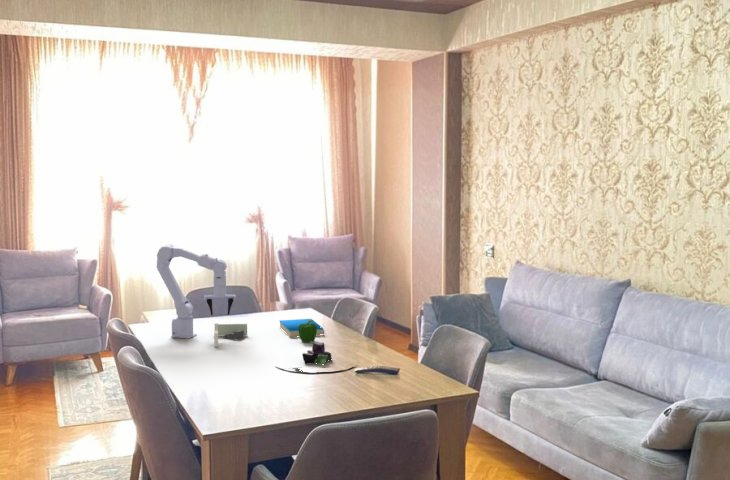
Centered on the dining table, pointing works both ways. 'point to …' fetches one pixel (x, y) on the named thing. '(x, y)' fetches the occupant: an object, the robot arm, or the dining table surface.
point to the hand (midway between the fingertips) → (220, 314)
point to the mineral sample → (314, 356)
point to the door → (231, 328)
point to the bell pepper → (307, 331)
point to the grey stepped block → (235, 335)
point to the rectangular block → (216, 334)
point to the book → (297, 326)
